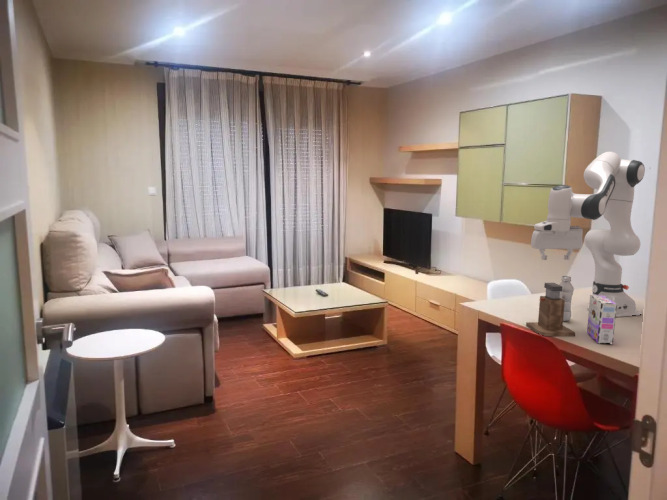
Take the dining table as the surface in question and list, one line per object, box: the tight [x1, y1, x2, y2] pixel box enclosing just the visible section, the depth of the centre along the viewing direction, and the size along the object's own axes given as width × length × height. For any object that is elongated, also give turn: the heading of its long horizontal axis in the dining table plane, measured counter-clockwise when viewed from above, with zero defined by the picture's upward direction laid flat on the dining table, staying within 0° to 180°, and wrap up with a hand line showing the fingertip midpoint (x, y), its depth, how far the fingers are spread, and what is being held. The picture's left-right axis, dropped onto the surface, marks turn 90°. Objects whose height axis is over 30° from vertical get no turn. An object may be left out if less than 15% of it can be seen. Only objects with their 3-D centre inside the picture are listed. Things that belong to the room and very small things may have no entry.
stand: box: [525, 295, 576, 337], centre depth 209 cm, size 14×14×14 cm
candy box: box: [586, 294, 617, 344], centre depth 200 cm, size 14×6×16 cm, turn 170°
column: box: [543, 282, 562, 300], centre depth 209 cm, size 4×7×18 cm, turn 4°
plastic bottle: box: [558, 275, 575, 322], centre depth 223 cm, size 6×7×20 cm
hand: (555, 259), depth 206 cm, fingers open, 8 cm apart
